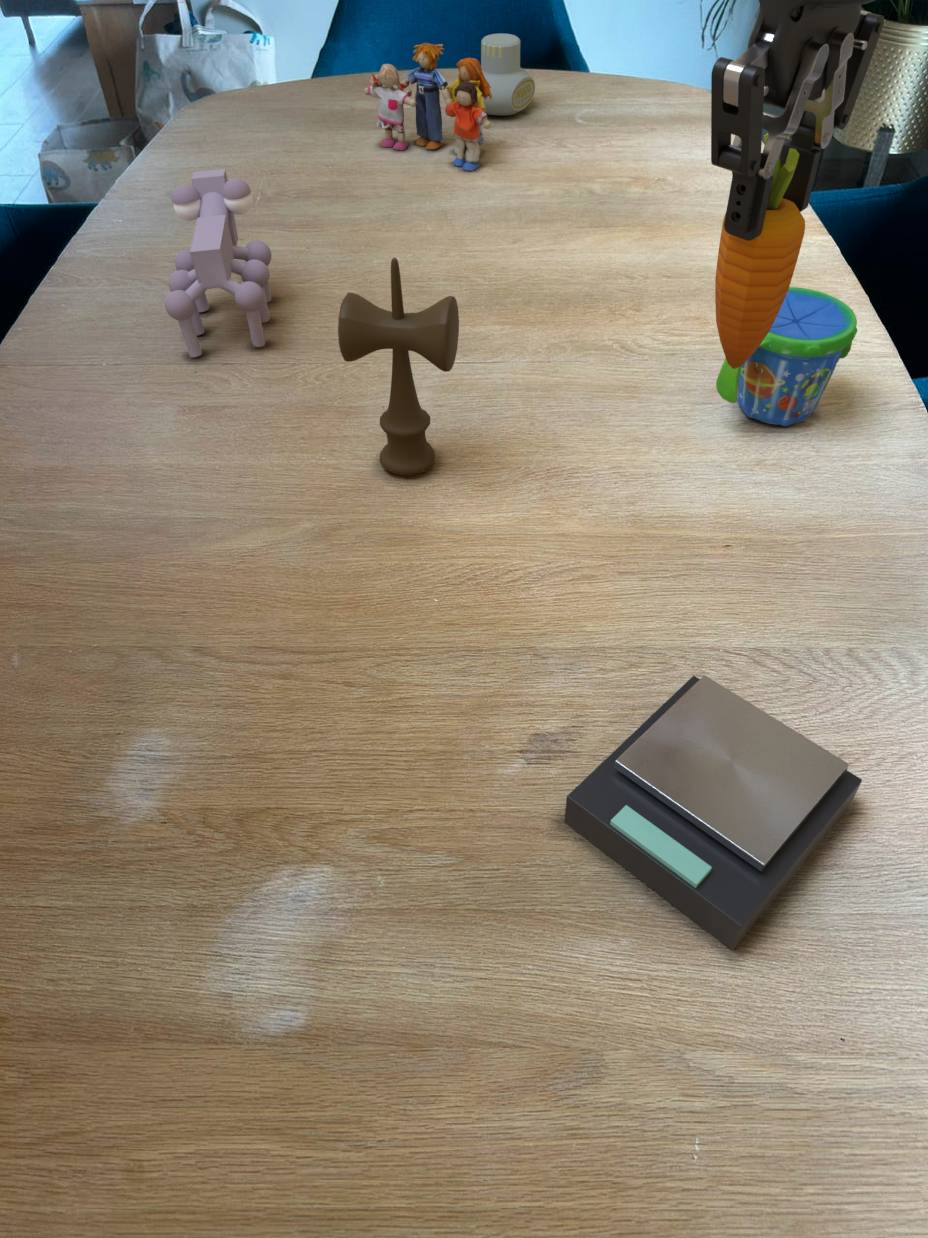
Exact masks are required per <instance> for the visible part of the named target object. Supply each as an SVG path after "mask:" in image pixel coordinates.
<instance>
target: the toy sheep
mask: <svg viewBox="0 0 928 1238" xmlns="http://www.w3.org/2000/svg"><path fill="white" fill-rule="evenodd" d="M190 180H191V184H192V185H191V184H189V183H181V184H179V185H177V186H175V188H174V189H173V190H172V192H171V202H172V203H173V210H174V212H175V214H176V215H177V217H178V218H179V219H181V220H182V221H186V222H193V221H196V222H195V227H194V231H193V235H192V236H193V237H192V240H191V245H190V248H184V249H181V250H179V252H178V253H177V254H176V255H175V258H174V266H175V269H176V270H174V271H173V272H172V273H171V275H170V276H169V278H168V282H167V283H168V285H167V286H168V290H169V291H170V292H169V293H168V294H167V296H166V297H165V300H164V308H165V311H166V313H167V314H168V316H169V317H171V318H172V319H173V320H176V321H177V322H178V325H179V328H180V331H181V334H182V337H183V340H184V343H185V346H186V349H187V352H188V355H189V358H198V357H200V356H202V354H203V351H202V348H201V344H200V341H199V339H198V336H201V335H203V334H204V333H205V328H204V324H203V322H202V319H201V316H200V313H203V312H206V311H209V310H210V305H209V302H208V298H207V296H206V293H205V292H206V291H207V290H211V289H212V290H213V289H221V290H223V291H225V292H227V293H228V294H230V295H232V296H233V297H234V300H235V302H236V304H237V306H238V308H240V309H241V310H242V311H245V313H246V319H247V324H248V329H249V333H250V338H251V343H252V345H253V346H254V347H256V348H261V347H264V346H265V345H266V339H265V335H264V334H265V333H264V329H263V324H262V323H268V322H269V321H270V319H271V318H270V311H269V306H268V303H269V302H272V293H271V288H270V287H271V286H270V276H271V275H270V273H271V272H270V270H269V268H268V266H269V265H270V263H271V262H272V251H271V249H270V246H268V244H267V243H265V242H264V241H262V240H252V241H249V242H248V243H246V245H245V246H240V245H238V241H239V235H238V228H237V224H236V219H235V215H237V216H239V215H244V214H247V213H248V212H249V211H250V210H251V208H252V206H253V202H254V201H253V195H252V190H251V187H250V185H249V184H248V183H247V182H246V181H245V180H244V179H242V178H239V177H233V178H230V179H228V174H227V169H226V168H219V169H210V170H201V171H193V172H192V175H191V178H190ZM240 260H241V261H240ZM243 261H245V262H243ZM232 274H235V275H239V276H240V277H241V280H242V282H241V283H239V282H238V281H236V280H234V279H232Z"/></svg>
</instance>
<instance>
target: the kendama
mask: <svg viewBox="0 0 928 1238" xmlns="http://www.w3.org/2000/svg"><path fill="white" fill-rule="evenodd" d="M390 292H391V293H390V296H391V297H390V299H391V310H387V309H384V308H381V307H379V306H378V305H376V304H374V303H372V302H371V301H369V300H368V299H366V298H365V297H363V296H362V295H360V294H358V293H355V292H348V293H347V294H346V295H345V296H344V298H343V299H342V302H341V304H340V308H339V313H338V320H337V322H338V324H337V339H338V345H339V350H340V354H341V356H342V358H343V360H344V362H348V363H349V362H350V363H351V362H355V361H358V360H359V359H362V358H364V357H365V356H368V355H370V354H372V353H374V352H377V351H380V350H392V362H391V365H392V366H391V382H390V395H389V402H388V406H387V409H386V410H385V411H383V412H382V415H381V416H380V417H379V426H380V428H381V429H382V431H383V432H384V433H385V434H386V438H387V442H386V444H385V445H384V446H383V448H382V449H381V451H380V453H379V463H380V465H381V467H382V468H383V469H384V470H386V471H388V472H389V473H392V474H394V475H399V476H415V475H418V474H423V473H424V472H426V471H427V470H429V469H430V468H431V467H432V466H433V464H434V463H435V460H436V455H435V454H436V451H435V449H434V448H433V447H432V445H431V444H430V443H429V442H428V440H427V436H426V431H427V430H428V428H429V426H430V425H431V416H430V414H429V413H428V412H427V410H424V409H423V408H422V406H421V404H420V401H419V398H418V394H417V389H416V385H415V381H414V375H413V372H412V371H413V370H412V364H411V359H410V352H414V353H415V354H418V355H420V356H421V357H422V358H424V359H426V360H427V362H429V363H431V364H432V365H433V366H434V367H436V368H437V369H438V370H440V371H442V372H444V373H445V372H446V373H447V372H451V370H452V369H453V367H454V364H455V361H456V358H457V352H458V345H459V336H460V335H459V333H460V315H459V306H458V301H457V299H456V297H455V296H452V295H448V296H447V297H446V296H445V297H444V298H442V299H440V300H438V301H437V302H436V303H434V304H432V305H430V306H428V307H427V308H425V309H423V310H422V311H418V312H405V309H404V300H403V289H402V280H401V270H400V264H399V260H398V258H396V257H393V258H391V261H390ZM409 351H410V352H409Z"/></svg>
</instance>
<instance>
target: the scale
mask: <svg viewBox="0 0 928 1238" xmlns="http://www.w3.org/2000/svg"><path fill="white" fill-rule="evenodd" d="M700 679H701V678H699V677H697V676H695V675H692V676H691V677H690V679H688V680H687V681H686V682H685V683H684V684H683V685H682V686H681V687H680V688H679V689H678V690H677V691H675V692H674V693H673V694H672V695H671V696H670V697H669V698H668V699H667V700H666V701H665V702H664V703H663V704H662V705H661V706H660V707H659V708H658V709H657V710H655V712H653V714H651V715H650V716H649V717H648V718H647V719H646V720H645V721H644V722H643V723H642V724H640V726H639V727H637V729H636V730H635V731H634V732H633V733H631V734H630V735H629V737H627V738H626V739H625V740H624V741H623V742H622V743H621V744H620V745H619V746H618V747H617V748H615V750H613V752H611V754H609V756H607V758H606V759H604V760H603V761H602V762H601V763H600V764H599V765H598V766H597V767H596V768H595V769H594V770H593V771H591V772H590V773H589V774H588V775H587V776H586V777H585V778H584V779H583V780H582V781H581V782H580V783H579V784H578V785H577V786H576V787H575V788H574V789H573V790H572V791H570V793H568V794H567V796H566V802H565V811H564V812H565V813H564V818H563V819H564V820H563V822H564V823H565V824H566V825H567V826H568V827H570V828H571V829H573V830H574V831H575V832H577V833H578V834H579V835H581V836H582V837H583V838H584V839H586V840H587V841H588V842H589V843H591V844H592V845H593V846H595V847H596V848H598V849H599V850H600V851H601V852H603V853H604V854H605V855H607V856H608V857H609V858H610V859H612V860H613V861H614V862H616V863H617V864H619V865H620V866H621V867H622V868H623V869H625V870H626V871H627V872H628V873H630V874H631V875H632V876H634V877H635V878H637V879H638V880H639V881H640V882H641V883H643V884H644V885H646V886H647V887H649V889H651V890H653V892H655V893H656V894H658V895H659V896H661V898H663V899H664V900H665V901H667V902H668V903H670V904H671V905H672V906H673V907H675V908H676V909H677V910H678V911H680V912H681V913H682V914H684V915H685V916H686V917H687V918H689V919H690V920H692V921H693V922H695V923H696V925H698V926H700V927H701V928H702V929H704V930H705V931H706V932H707V933H709V934H710V935H711V936H713V937H714V938H715V939H716V940H718V941H719V942H720V943H722V944H723V945H724V946H726V947H727V948H728V949H729V950H730V951H734V950H735V949H736V947H737V946H738V945H739V944H740V943H741V941H742V940H743V939H744V937H745V936H746V935H747V934H748V932H750V930H751V929H752V927H753V926H755V924H756V923H757V921H758V920H759V919H760V918H761V917H762V915H763V914H764V913H765V912H766V911H767V909H768V908H769V907H770V905H772V903H773V902H774V900H775V899H776V898H777V897H778V896H779V894H780V893H781V892H782V891H783V890H784V888H785V887H786V886H787V884H788V883H789V882H790V881H791V879H793V877H794V876H795V875H796V873H797V872H798V871H799V869H800V868H801V867H802V866H803V865H804V864H805V862H806V861H807V860H808V859H809V858H810V856H811V855H812V853H814V851H815V850H816V849H817V847H818V846H819V845H820V844H821V843H822V841H823V840H824V839H825V838H826V836H827V835H828V834H829V833H830V831H831V830H832V829H833V828H834V827H835V825H836V824H837V823H838V822H839V820H840V819H841V818H842V817H843V816H844V814H845V813H846V812H847V811H848V810H849V808H850V807H851V805H852V803H853V801H854V799H855V796H856V794H857V793H858V791H859V788H860V786H861V784H862V782H863V779H862V778H860V777H859V776H857V775H855V774H854V773H852V772H850V771H848V770H847V771H846V772H845V773H844V775H843V776H842V777H841V778H840V779H839V781H838V782H837V783H836V784H835V785H834V786H833V788H832V789H831V790H830V791H829V792H828V794H827V795H826V796H825V797H824V798H823V800H822V801H821V802H820V803H819V804H818V806H817V807H816V808H815V809H814V810H813V812H812V813H811V814H810V815H809V816H808V818H807V819H806V820H805V821H804V822H803V823H802V825H801V826H800V827H799V828H798V829H797V831H796V832H795V833H794V834H793V835H792V837H791V838H790V839H789V840H788V841H787V843H786V844H785V845H784V846H783V847H782V849H781V850H780V851H779V852H778V853H777V855H776V856H775V857H774V858H773V859H772V860H771V862H770V863H769V864H768V865H767V866H766V868H765V869H764V870H763V871H762V872H761V871H759V870H758V869H757V868H755V867H754V866H752V865H751V864H750V863H748V862H747V861H745V860H744V859H742V858H741V857H740V856H738V855H737V854H735V853H734V852H733V851H731V850H730V849H728V848H727V847H726V846H724V845H723V844H721V843H720V842H718V841H717V840H716V839H714V838H713V837H711V836H710V835H709V834H707V833H706V832H704V831H703V830H701V829H700V828H699V827H697V826H696V825H694V824H693V823H692V822H690V821H689V820H687V819H686V818H685V817H683V816H682V815H680V814H679V813H677V812H676V811H675V810H673V809H672V808H670V807H669V806H668V805H666V804H665V803H663V802H662V801H660V800H659V799H658V798H656V797H655V796H653V795H652V794H651V793H649V792H648V791H646V790H645V789H644V788H642V787H641V786H639V785H638V784H636V783H635V782H634V781H632V780H631V779H629V778H628V777H627V776H625V775H624V774H622V773H621V772H619V771H618V770H617V769H615V768H614V766H615V761H616V760H617V759H618V758H619V757H620V756H621V755H622V754H623V753H624V752H625V751H626V750H627V749H628V748H629V747H630V746H631V745H632V744H633V743H634V742H635V741H636V740H637V739H638V738H639V737H640V736H641V735H643V734H644V733H645V732H646V731H647V730H648V729H649V728H650V727H651V726H652V725H653V724H654V723H655V722H656V721H657V720H658V719H659V718H660V717H661V716H662V715H663V714H664V713H665V712H666V711H667V710H669V709H670V708H671V707H672V706H673V705H674V704H675V703H676V702H677V701H678V700H679V699H680V698H681V697H682V696H683V695H684V694H685V693H686V692H687V691H688V690H689V689H690V688H691V687H692V686H693V685H694V684H696V683H697V682H698V681H699V680H700Z"/></svg>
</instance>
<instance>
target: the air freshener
mask: <svg viewBox="0 0 928 1238" xmlns="http://www.w3.org/2000/svg"><path fill="white" fill-rule="evenodd" d="M480 66H481V68H482V72H483V74H484V77H485V79H486V80H487V82H488V83H489V85H490V86H491V88H490V92H491V94H492V97H493V98H492V100H490V97H489V96H488V97H487V99H486V100H485V99H484V97H482V98H483V102H484V105H485V108H486V109H485V111H484V113H486V114H487V115H488V116H489V115H490V116H496V117H501V116H502V117H509V116H514V115H517V114H518V113H520V112H521V111H523V110H524V109H526V108H527V107H528V106H529V104H530V103H531V101H532V100H533V97H534V95H535V91H536V82H535V80H534V78H533V76H532V75H531V74H530V72H528V71H527V70H526V69H524V68H522V66H521V39H520V38H519V37H518V36H517V35H515V34H511V33H502V32H501V33H491V34H488V35H485V36H483V38H482V39H481V42H480Z"/></svg>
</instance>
